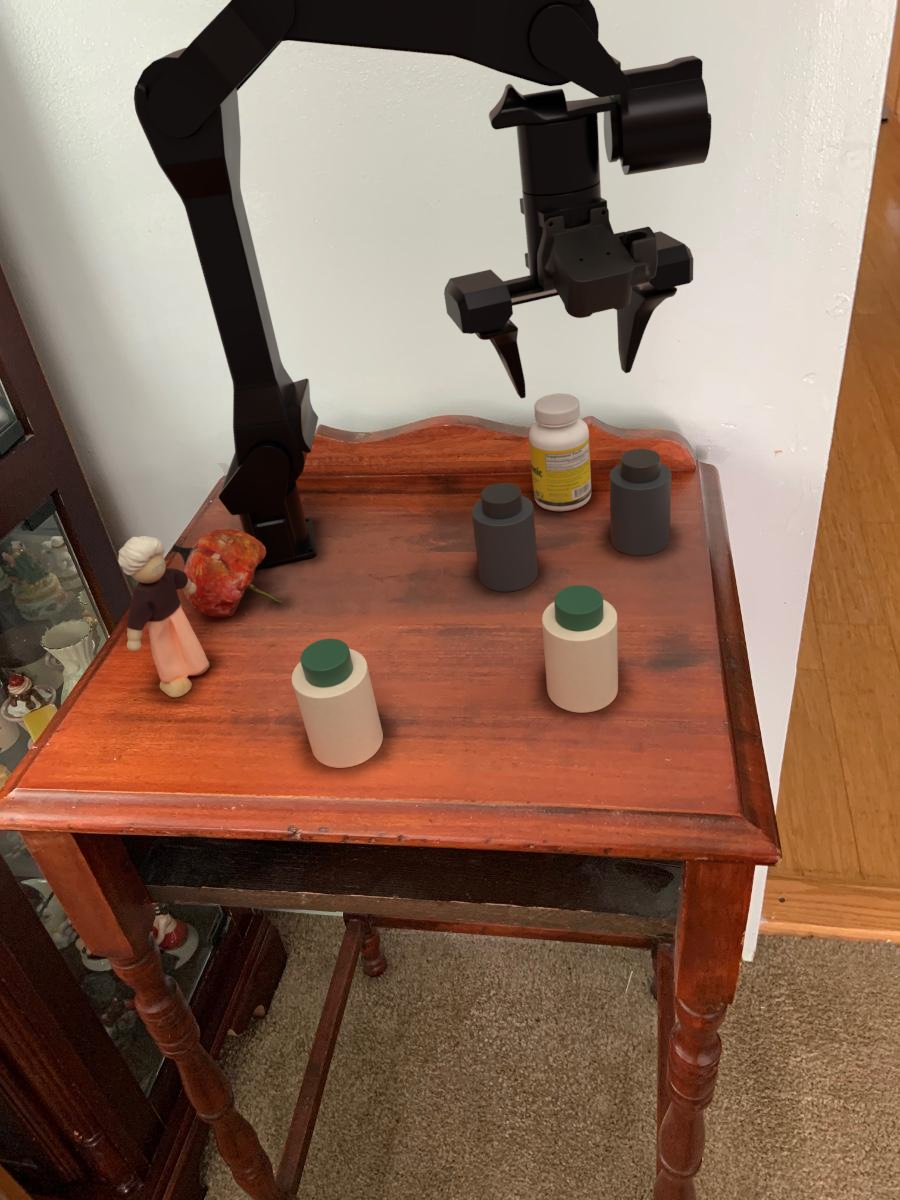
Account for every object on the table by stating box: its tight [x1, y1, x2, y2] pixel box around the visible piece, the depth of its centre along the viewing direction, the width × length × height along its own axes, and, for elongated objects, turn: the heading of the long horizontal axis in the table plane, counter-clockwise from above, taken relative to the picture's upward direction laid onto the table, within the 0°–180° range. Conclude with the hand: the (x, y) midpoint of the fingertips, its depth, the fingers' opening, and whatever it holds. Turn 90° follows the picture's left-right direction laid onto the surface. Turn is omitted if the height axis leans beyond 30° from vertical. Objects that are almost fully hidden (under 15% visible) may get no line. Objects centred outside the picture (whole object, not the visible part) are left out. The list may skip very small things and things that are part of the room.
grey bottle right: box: [609, 448, 672, 557], centre depth 76 cm, size 5×5×8 cm
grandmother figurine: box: [117, 535, 210, 698], centre depth 68 cm, size 8×4×13 cm, turn 168°
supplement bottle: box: [528, 393, 592, 512], centre depth 83 cm, size 5×5×10 cm
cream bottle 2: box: [541, 584, 619, 714], centre depth 62 cm, size 5×5×8 cm
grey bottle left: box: [471, 482, 539, 593], centre depth 75 cm, size 5×5×8 cm
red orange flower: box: [168, 528, 282, 618], centre depth 76 cm, size 7×7×10 cm
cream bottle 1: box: [291, 638, 384, 769], centre depth 61 cm, size 5×5×8 cm
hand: (574, 383), depth 76 cm, fingers open, 9 cm apart
